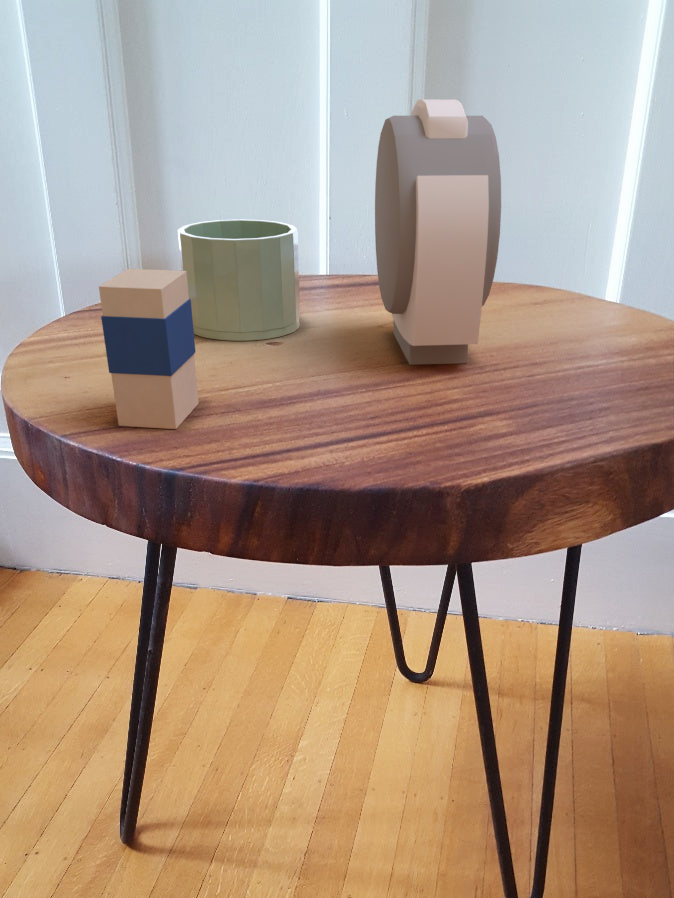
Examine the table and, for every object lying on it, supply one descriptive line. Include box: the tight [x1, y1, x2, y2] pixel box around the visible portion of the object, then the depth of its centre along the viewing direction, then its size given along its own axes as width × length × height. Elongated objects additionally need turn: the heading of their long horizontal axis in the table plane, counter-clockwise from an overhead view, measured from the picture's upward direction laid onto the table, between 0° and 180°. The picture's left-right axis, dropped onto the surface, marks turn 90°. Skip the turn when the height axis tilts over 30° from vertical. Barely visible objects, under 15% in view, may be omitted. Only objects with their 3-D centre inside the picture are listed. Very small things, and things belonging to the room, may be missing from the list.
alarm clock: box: [374, 98, 502, 366], centre depth 85 cm, size 18×8×20 cm, turn 7°
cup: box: [177, 218, 301, 342], centre depth 94 cm, size 11×11×9 cm
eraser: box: [98, 268, 200, 430], centre depth 71 cm, size 5×6×10 cm
